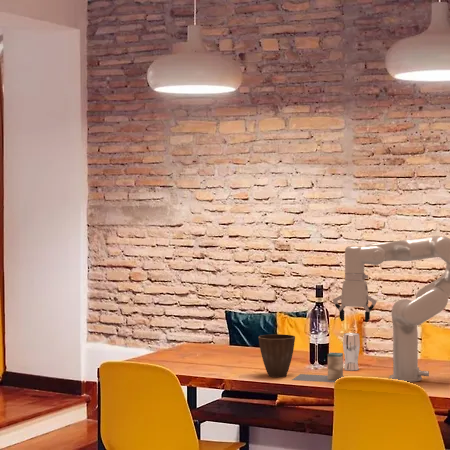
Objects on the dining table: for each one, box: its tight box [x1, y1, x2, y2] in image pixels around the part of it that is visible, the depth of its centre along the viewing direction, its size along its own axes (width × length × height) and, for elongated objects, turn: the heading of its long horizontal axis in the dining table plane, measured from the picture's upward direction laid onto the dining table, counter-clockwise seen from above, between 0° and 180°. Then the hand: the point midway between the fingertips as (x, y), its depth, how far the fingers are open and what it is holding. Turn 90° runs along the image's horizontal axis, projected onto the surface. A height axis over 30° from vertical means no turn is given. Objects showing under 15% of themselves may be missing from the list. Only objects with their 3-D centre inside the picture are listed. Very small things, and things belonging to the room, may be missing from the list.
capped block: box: [327, 352, 344, 380], centre depth 388 cm, size 5×5×10 cm
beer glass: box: [342, 332, 361, 372], centre depth 413 cm, size 7×7×15 cm
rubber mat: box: [291, 373, 344, 383], centre depth 390 cm, size 22×14×1 cm, turn 71°
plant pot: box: [258, 333, 296, 378], centre depth 400 cm, size 15×15×16 cm
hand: (354, 321), depth 386 cm, fingers open, 9 cm apart
